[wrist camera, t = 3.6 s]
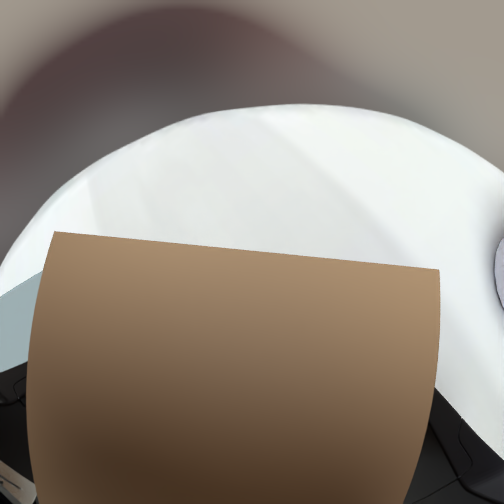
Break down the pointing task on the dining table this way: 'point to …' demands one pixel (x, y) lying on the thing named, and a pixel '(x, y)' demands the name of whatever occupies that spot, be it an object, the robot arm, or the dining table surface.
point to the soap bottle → (500, 271)
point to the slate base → (17, 322)
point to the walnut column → (226, 375)
